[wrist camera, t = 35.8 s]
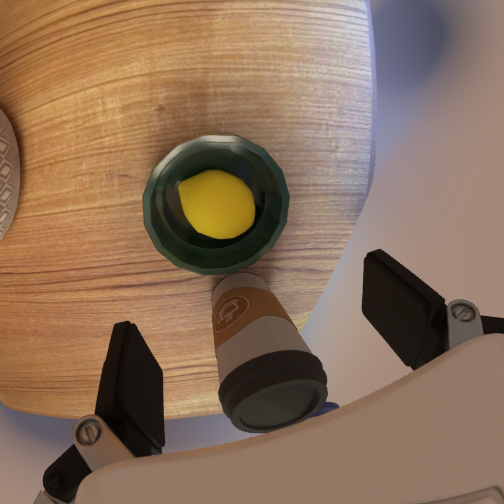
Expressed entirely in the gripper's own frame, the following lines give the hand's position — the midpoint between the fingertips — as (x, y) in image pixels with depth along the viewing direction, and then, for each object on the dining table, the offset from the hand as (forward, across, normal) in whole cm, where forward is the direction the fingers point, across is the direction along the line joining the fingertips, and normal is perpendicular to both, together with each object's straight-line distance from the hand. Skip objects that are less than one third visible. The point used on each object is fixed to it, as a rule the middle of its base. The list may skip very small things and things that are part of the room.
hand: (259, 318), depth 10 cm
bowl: (+17, 0, -1) cm, 17 cm away
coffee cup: (+17, 0, +11) cm, 21 cm away
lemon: (+17, 0, -1) cm, 17 cm away
